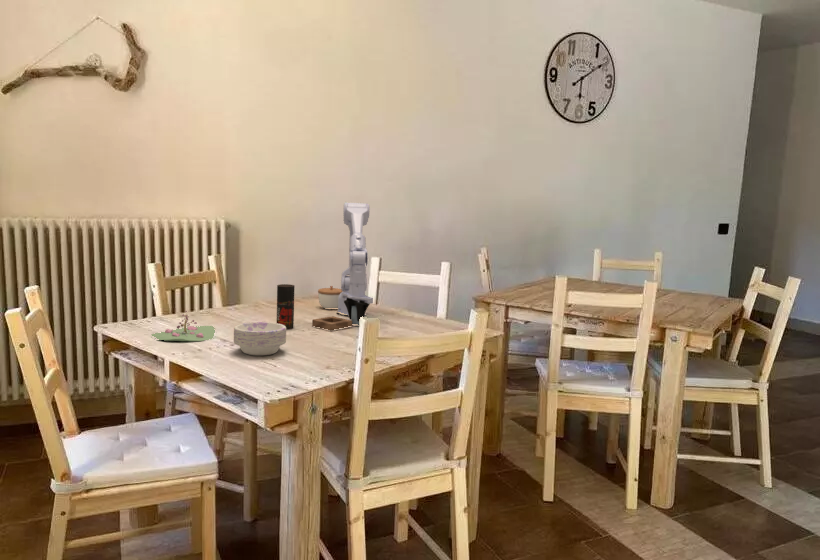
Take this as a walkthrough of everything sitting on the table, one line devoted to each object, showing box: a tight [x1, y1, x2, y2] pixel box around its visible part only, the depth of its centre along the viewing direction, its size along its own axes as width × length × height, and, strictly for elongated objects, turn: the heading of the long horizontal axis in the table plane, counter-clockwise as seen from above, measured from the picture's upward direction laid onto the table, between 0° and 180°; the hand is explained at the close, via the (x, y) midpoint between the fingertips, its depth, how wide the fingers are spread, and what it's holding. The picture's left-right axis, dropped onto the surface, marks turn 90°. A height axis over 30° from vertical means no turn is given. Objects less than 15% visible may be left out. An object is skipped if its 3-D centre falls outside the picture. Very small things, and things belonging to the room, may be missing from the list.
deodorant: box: [276, 283, 295, 331], centre depth 221 cm, size 6×6×15 cm
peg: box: [351, 306, 359, 325], centre depth 231 cm, size 4×4×7 cm
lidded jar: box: [317, 285, 343, 308], centre depth 260 cm, size 11×11×9 cm
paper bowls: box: [233, 321, 287, 357], centre depth 188 cm, size 15×15×8 cm
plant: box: [151, 310, 216, 342], centre depth 206 cm, size 25×21×9 cm
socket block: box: [311, 315, 353, 330], centre depth 227 cm, size 10×10×2 cm
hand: (356, 320), depth 231 cm, fingers closed on peg, 4 cm apart
